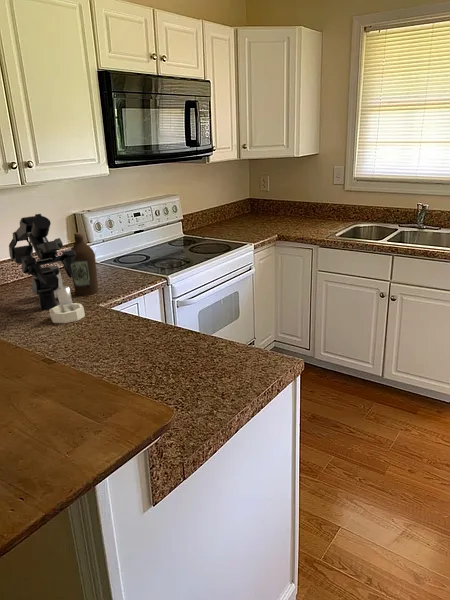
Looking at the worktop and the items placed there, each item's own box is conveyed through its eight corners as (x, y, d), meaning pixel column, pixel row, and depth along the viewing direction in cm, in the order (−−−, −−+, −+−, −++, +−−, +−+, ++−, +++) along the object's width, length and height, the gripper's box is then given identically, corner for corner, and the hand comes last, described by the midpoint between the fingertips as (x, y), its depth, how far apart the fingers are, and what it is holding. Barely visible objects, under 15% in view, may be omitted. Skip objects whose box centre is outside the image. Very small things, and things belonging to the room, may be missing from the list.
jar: (44, 300, 193) (39, 272, 189) (39, 296, 199) (34, 268, 195) (66, 296, 197) (62, 267, 194) (61, 291, 204) (56, 264, 200)
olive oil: (79, 289, 206) (70, 231, 198) (103, 288, 205) (95, 230, 197) (70, 296, 196) (60, 236, 188) (95, 295, 195) (86, 235, 187)
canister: (58, 315, 171) (54, 288, 168) (69, 311, 174) (65, 285, 171) (65, 317, 168) (60, 290, 165) (76, 314, 171) (72, 286, 168)
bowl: (49, 316, 173) (47, 307, 172) (80, 310, 178) (78, 301, 177) (54, 325, 164) (53, 315, 163) (86, 318, 169) (85, 309, 168)
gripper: (18, 236, 162) (36, 273, 158) (70, 227, 174) (88, 262, 170) (14, 255, 170) (31, 291, 166) (64, 245, 182) (81, 279, 178)
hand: (58, 280), depth 170 cm, fingers open, 9 cm apart
